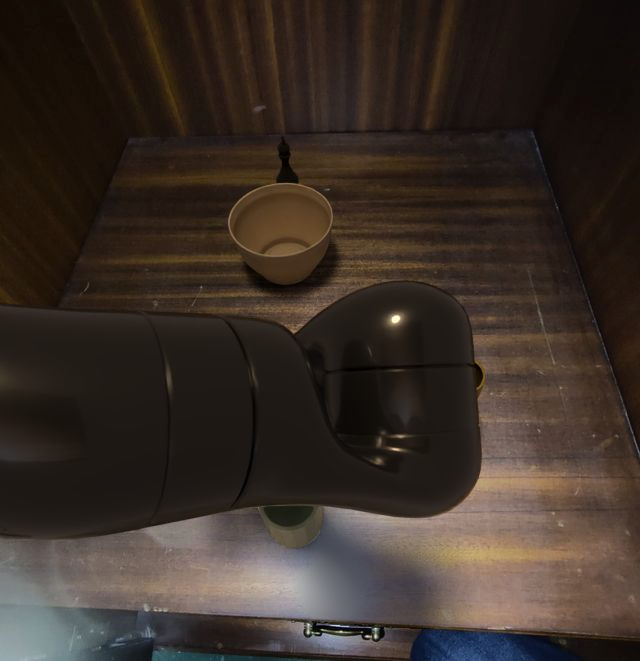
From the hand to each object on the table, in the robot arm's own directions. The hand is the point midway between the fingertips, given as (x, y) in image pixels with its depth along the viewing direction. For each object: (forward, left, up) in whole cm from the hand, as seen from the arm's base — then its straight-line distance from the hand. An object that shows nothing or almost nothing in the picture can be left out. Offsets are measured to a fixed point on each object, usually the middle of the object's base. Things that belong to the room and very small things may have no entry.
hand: (169, 399), depth 51 cm
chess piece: (+58, -4, -20) cm, 62 cm away
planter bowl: (+36, -6, -20) cm, 42 cm away
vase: (+7, -30, -20) cm, 37 cm away
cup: (-6, -11, -20) cm, 24 cm away
